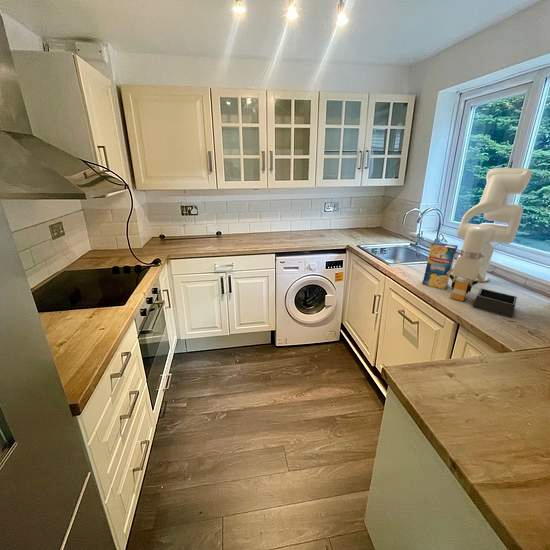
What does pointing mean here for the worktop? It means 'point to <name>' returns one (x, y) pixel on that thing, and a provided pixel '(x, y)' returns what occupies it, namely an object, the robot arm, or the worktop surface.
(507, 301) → the basket
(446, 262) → the blue yellow food box
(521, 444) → the worktop surface
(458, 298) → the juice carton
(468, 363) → the worktop surface
